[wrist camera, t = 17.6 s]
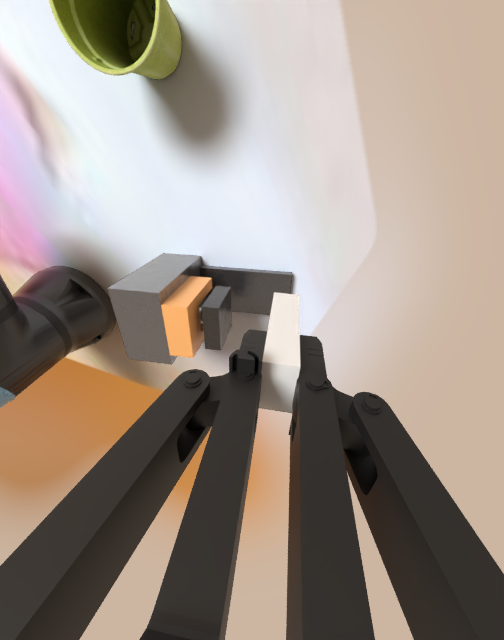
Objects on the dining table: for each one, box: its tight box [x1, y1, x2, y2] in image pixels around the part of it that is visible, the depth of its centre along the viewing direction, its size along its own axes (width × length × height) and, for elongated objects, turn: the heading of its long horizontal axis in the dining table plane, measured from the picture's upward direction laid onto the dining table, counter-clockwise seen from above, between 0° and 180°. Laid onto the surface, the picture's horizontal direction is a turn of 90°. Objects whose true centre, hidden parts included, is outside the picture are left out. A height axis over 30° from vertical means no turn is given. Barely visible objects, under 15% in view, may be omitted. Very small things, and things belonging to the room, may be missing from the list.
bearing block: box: [107, 253, 292, 364], centre depth 35 cm, size 20×10×14 cm, turn 89°
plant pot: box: [49, 0, 182, 80], centre depth 23 cm, size 9×9×9 cm
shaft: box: [199, 286, 232, 350], centre depth 33 cm, size 15×6×6 cm, turn 89°
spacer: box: [161, 276, 212, 358], centre depth 33 cm, size 3×7×9 cm, turn 179°
